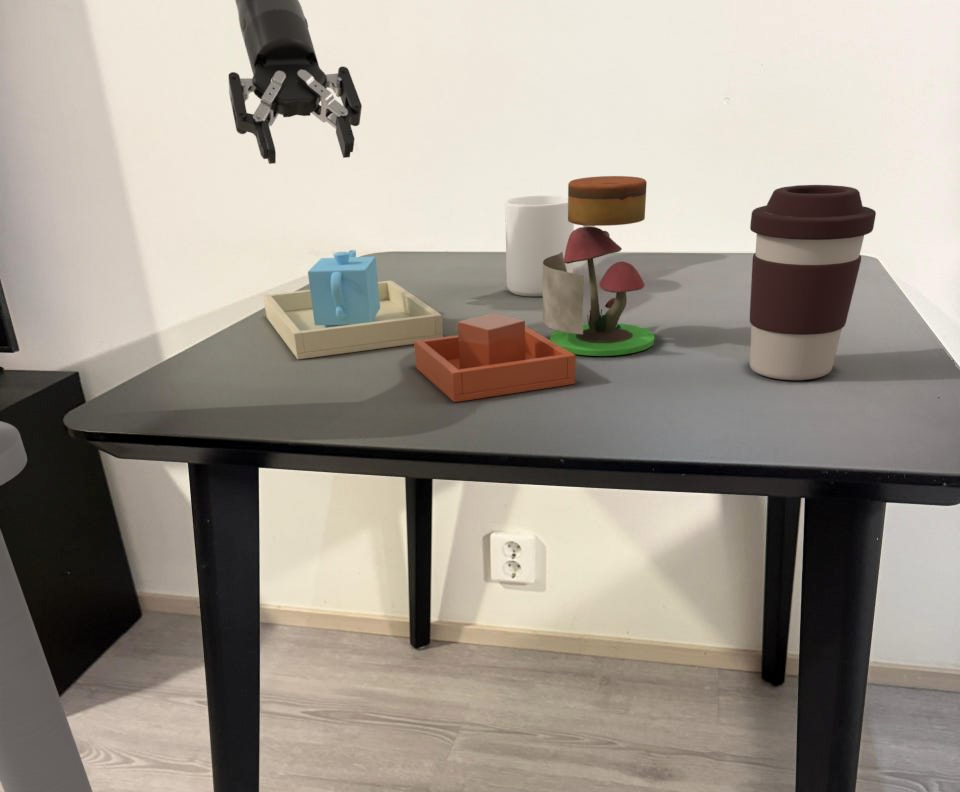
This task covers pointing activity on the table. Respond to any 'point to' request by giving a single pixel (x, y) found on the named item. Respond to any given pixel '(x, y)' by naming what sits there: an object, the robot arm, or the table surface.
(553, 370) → the terracotta tray
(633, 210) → the mushroom figurine
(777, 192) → the coffee cup
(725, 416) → the table surface
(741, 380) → the table surface
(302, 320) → the cream tray
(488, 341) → the clay block
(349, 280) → the teapot
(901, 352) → the table surface
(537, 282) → the mug
